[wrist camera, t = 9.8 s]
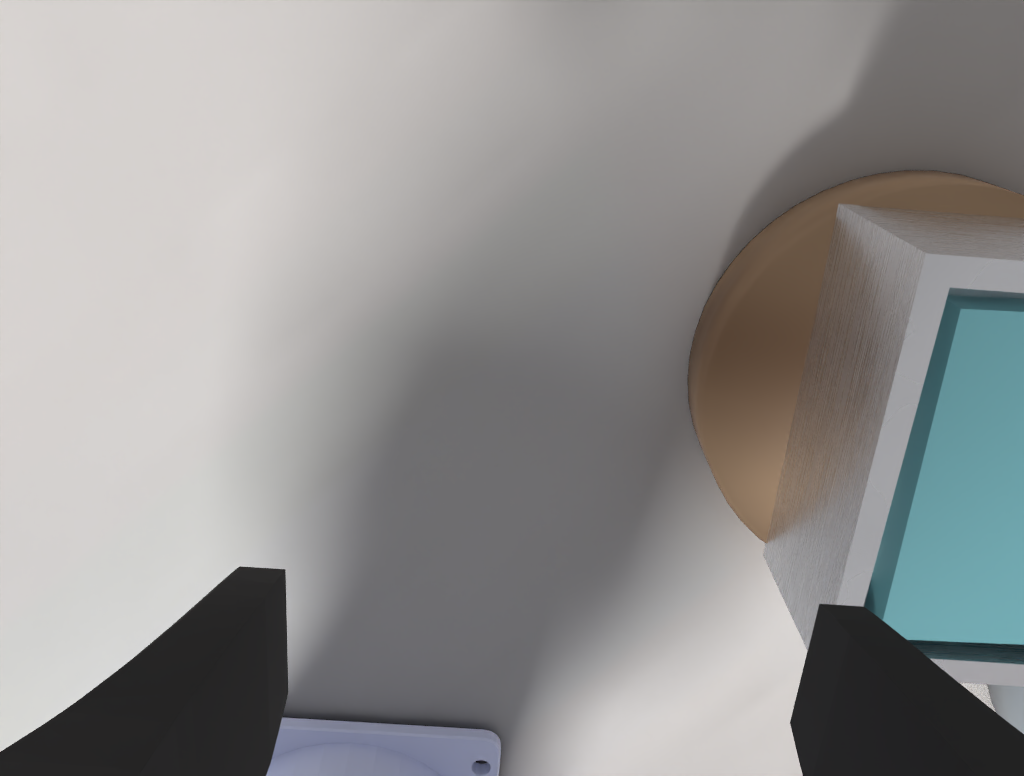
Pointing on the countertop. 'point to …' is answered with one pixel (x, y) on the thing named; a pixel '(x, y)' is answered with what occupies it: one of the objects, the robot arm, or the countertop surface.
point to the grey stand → (1009, 703)
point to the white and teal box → (878, 405)
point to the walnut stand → (789, 327)
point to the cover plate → (961, 487)
